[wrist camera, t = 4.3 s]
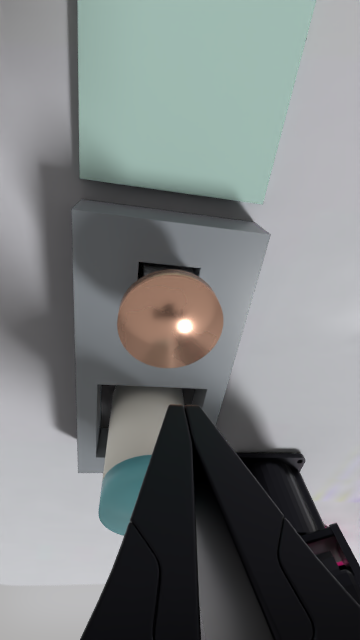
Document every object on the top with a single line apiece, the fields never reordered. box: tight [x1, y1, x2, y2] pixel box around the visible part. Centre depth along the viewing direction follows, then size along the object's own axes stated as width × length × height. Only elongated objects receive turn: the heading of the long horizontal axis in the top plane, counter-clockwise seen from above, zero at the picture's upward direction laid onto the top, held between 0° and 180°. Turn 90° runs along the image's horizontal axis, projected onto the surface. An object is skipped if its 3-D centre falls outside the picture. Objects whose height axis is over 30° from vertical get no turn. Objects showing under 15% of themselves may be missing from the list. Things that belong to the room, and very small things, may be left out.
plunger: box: [117, 262, 223, 368], centre depth 15 cm, size 4×4×6 cm
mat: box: [77, 0, 316, 204], centre depth 13 cm, size 9×8×1 cm
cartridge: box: [99, 385, 185, 535], centre depth 19 cm, size 5×5×8 cm
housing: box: [71, 199, 271, 473], centre depth 19 cm, size 9×18×2 cm, turn 172°
